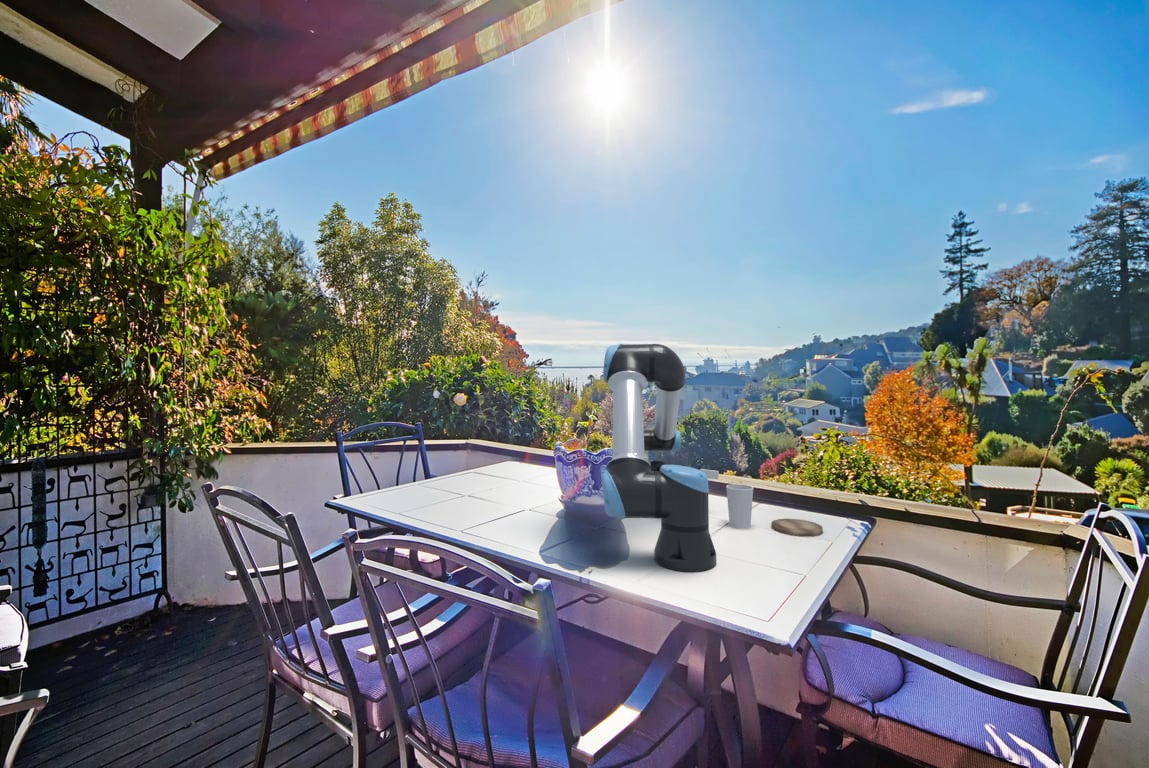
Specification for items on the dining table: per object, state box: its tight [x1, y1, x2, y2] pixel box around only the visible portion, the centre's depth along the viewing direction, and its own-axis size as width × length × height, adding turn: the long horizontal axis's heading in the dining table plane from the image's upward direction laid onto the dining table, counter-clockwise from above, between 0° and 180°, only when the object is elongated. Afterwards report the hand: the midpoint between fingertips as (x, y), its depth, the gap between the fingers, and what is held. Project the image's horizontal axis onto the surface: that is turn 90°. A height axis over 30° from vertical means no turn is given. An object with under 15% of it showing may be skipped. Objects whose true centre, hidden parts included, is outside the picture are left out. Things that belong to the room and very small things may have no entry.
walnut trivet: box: [771, 518, 824, 537], centre depth 146 cm, size 14×14×1 cm
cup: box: [725, 483, 754, 529], centre depth 150 cm, size 8×8×12 cm
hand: (709, 478), depth 157 cm, fingers open, 13 cm apart
